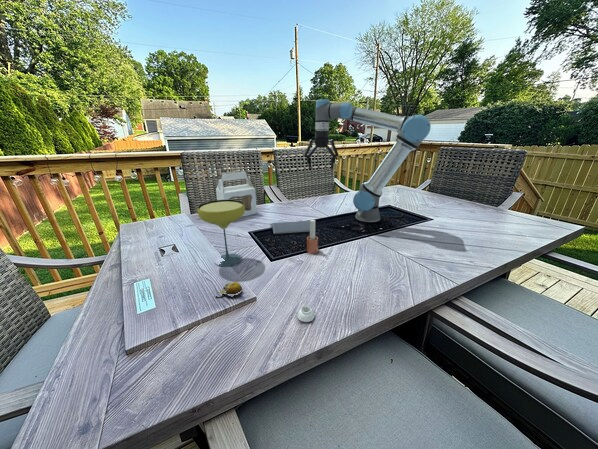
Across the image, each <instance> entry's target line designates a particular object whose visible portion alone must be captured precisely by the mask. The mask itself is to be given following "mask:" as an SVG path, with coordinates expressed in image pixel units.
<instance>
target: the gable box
mask: <svg viewBox="0 0 598 449" xmlns="http://www.w3.org/2000/svg"><path fill="white" fill-rule="evenodd" d="M220 177H221V178H219V179H217V186H216V189H215V194H216V200H231V198H234V197H242V201H241V202H243V204H244V207H245V212H244V214H243V215H242V216H241V217H240V218H243V217H247V216H252V215H257V214H258V208H257V194H256V188H255V185H254V184H253V182H252V180H251V175H247V172H246V171H237V172H236V171H235V172H226V173H222V174H221V175H220ZM236 180H245V183H243V184H237V185H230V186H224V182H229V181H236Z"/></svg>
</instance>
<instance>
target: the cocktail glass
mask: <svg viewBox="0 0 598 449" xmlns="http://www.w3.org/2000/svg"><path fill="white" fill-rule="evenodd" d="M244 212H245V207H244V204H243V201H240V200H237V199H229V200H217V199H216V200H210V201H207V202H203V203H201V204H199V205H198V206H197V215H198V217H199V219H200V220H202V221H203V222H205V223H208V224H211V225H215V226H218V227H219V228H220V229H222V230H223V238H224V246H225V247H224V248H225V254H223V255H220V256H221V258H223V259H224V260H225V261H222V262H220V263H221V264H219V266H218V267H221V268H222V267H223V268H228V267H232V266H235V265H237V264H239V263H240V262H241V260H242V259H241V256H240V255H238V254H235V253H229V250H228V244H227V235H226V229H227V228H228V227H229V225H230V224H232V223H235V222H236V221H238V220H239V219H241V218H242V217H241V216H242V215H243V214H244Z"/></svg>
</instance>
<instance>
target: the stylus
mask: <svg viewBox="0 0 598 449" xmlns="http://www.w3.org/2000/svg"><path fill="white" fill-rule="evenodd" d="M309 221H310V233H309V236H310V240H315V236H316V219H310V220H309Z"/></svg>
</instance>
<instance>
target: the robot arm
mask: <svg viewBox="0 0 598 449" xmlns="http://www.w3.org/2000/svg"><path fill="white" fill-rule="evenodd" d="M332 119H333V120H334V119H335V120H337V119H340V120H345V121H350V122H354V123H359V124H362V125H367V126H369V127H370V126H371V127H375V128H379V129H383V130H387V131H390V132H391V131H392V132H394V133H397V135H395V143H394V144H393V146H392V147H391V149H390V150H389V151H388V152H387V154H386V156H385V157H384V159H383V160H382V161H381V163H380V164H379V166H378V167H377V169H376V170H375V171H374V173H373V174H372V176H371V177H370V179H369V180H368V181H365V182H362V183H360V188H359V190H358V191H357V192H356V193H355V194H354V196H353V199H352V202H353V206H354V208H356V209H357V211H356V214H355V217H354V220H356V221H357V222H359V223H363V224H376V223H380V221H381V218H391V219H400V218H403V216H404V213H401V215H399V216H393V215H392V216H391V215H380V214H381V213H380V210H379V206H380V198H381V197H382V196H383V189H384V188H385V187H386V186H387V184H388V183H389V182H390V180H391V179H392V177H393V176H394V175H395V174H396V172H397V170H398V169H399V168H400V167H401V165H402V164H403V163H404V162H405V160H406V158H407V157H408V156H409V154H410V153H411V152H412V151H416V150H417V149H418V148H419V146H420V145H421V144H422V143H423V141H424V140H425V138H427V136H428V135H429V134H430V131H431V121H430V119H429V118H428V117H427V116H425V115H423V114H414V115H412V116H410V115H404V116H399V115H395V114H391V113H386V112H380V111H376V110H372V109H367V108H363V107H359V106H354V105H352V103H351V102H345V101H344V102H333V103H332V102H331V101H330V99H327V98H323V99H317V100H316V102H315V121H314V123H315V126H314V128H315V132H314V139H309V143H308V146H307V148H306V150H305V151H304V154H303V157H304V158H306V163H307V164H308V170H309V171H311V170H312V158H311V157H312V155H313V154H314V153H315V152H316V150H317V149H326V150H327V151H328V152H329V154H330V155H331V158H330V169H331V170H334V164H336V158H337V157H339V156H340V154H339V152H338V149H337V147H336V144H335V140H334V139H330V138H329V136H330V132H329V129H330V120H332ZM314 144H315V145H314ZM329 144H330V145H331V147H330V146H329ZM312 145H314V146H313V148H312ZM311 148H312V149H311ZM331 148H332V149H331Z"/></svg>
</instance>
